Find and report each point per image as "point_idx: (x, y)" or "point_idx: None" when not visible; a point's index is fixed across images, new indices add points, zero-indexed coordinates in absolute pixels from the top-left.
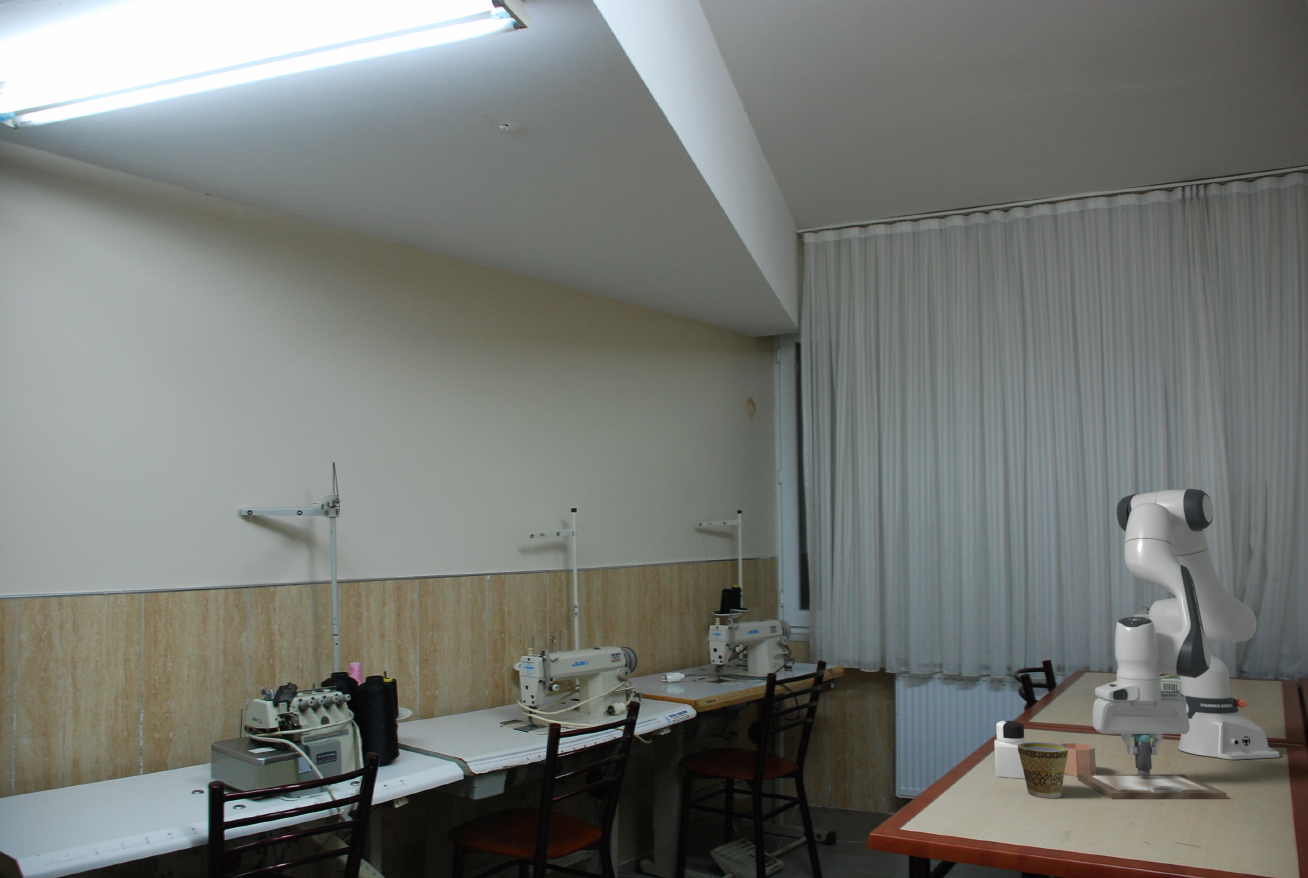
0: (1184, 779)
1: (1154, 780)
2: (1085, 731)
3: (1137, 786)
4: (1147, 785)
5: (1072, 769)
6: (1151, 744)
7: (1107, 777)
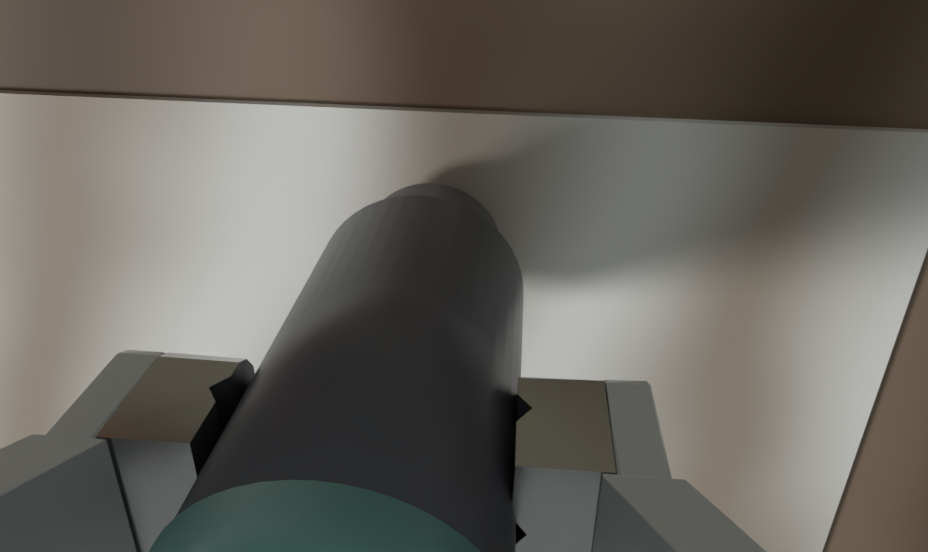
0: (887, 317)
1: None
2: None
3: None
4: None
5: None
6: (605, 504)
7: (13, 174)
